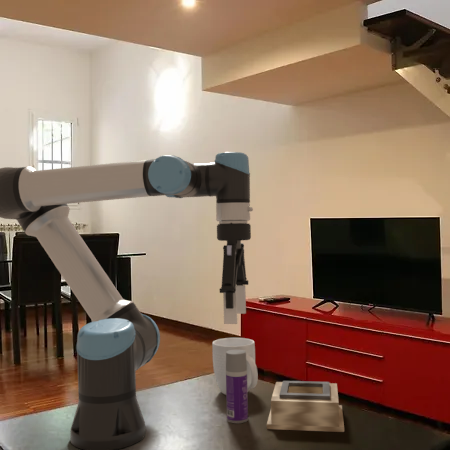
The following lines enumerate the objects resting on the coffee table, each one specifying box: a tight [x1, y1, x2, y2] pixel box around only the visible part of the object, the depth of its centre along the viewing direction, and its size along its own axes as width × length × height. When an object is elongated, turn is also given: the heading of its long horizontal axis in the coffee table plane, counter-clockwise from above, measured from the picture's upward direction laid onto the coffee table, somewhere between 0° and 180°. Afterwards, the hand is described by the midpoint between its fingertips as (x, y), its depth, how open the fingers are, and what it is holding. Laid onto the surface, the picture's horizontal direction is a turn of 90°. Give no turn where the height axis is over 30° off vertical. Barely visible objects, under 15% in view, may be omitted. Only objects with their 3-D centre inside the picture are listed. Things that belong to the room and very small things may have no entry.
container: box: [225, 350, 249, 424], centre depth 123 cm, size 5×5×15 cm
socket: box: [266, 380, 345, 433], centre depth 123 cm, size 16×14×7 cm
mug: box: [211, 337, 259, 396], centre depth 142 cm, size 15×11×13 cm
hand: (235, 318), depth 123 cm, fingers open, 13 cm apart
